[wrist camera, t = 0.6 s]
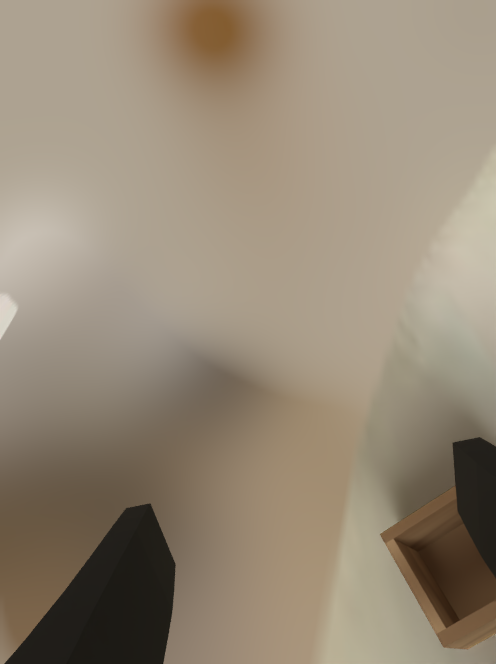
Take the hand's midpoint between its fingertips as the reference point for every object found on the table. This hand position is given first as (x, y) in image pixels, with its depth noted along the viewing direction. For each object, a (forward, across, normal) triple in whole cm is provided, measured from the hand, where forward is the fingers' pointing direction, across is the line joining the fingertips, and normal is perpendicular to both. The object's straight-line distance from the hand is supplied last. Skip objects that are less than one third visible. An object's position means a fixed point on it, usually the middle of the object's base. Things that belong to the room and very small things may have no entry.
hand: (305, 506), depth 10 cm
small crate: (+8, -9, +14) cm, 18 cm away
